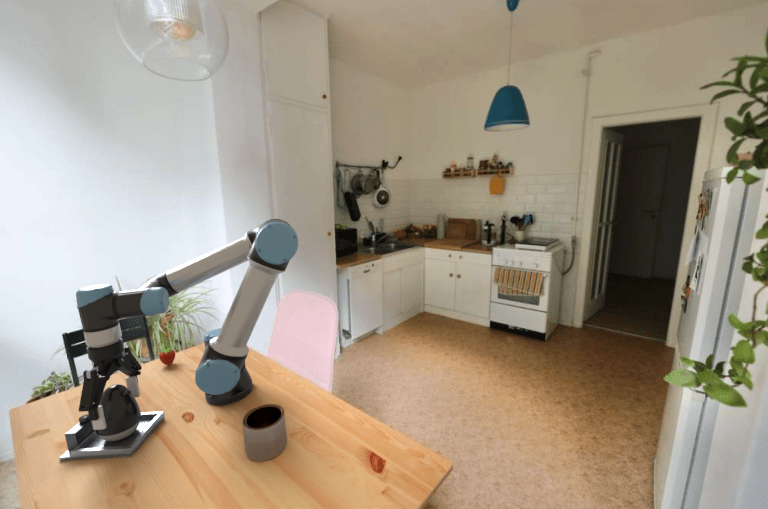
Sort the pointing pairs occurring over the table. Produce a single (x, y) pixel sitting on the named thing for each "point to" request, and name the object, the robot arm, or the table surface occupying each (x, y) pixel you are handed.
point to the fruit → (167, 356)
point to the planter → (264, 432)
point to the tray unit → (92, 446)
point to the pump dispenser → (119, 413)
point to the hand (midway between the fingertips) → (118, 411)
